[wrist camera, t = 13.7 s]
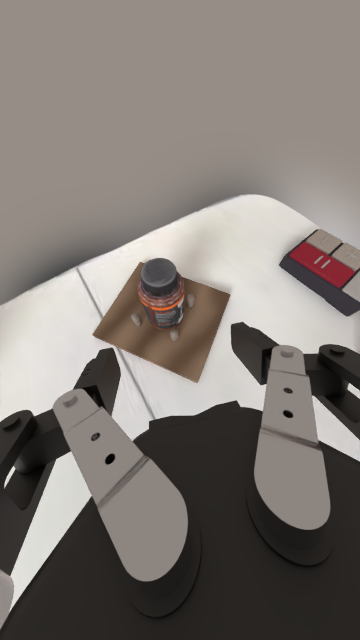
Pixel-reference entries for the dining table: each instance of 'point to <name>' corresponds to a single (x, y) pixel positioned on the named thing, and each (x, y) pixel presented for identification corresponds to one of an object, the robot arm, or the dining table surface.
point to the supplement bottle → (162, 293)
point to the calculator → (327, 269)
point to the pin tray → (166, 345)
